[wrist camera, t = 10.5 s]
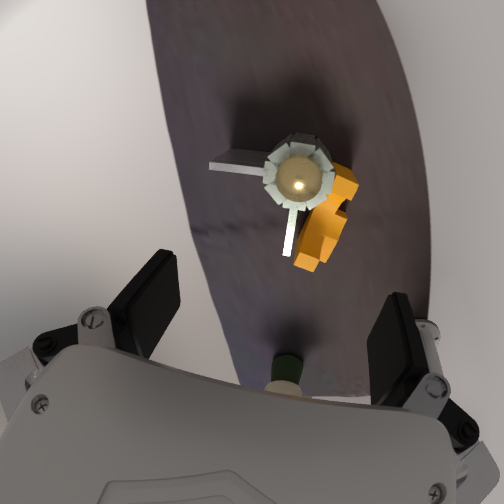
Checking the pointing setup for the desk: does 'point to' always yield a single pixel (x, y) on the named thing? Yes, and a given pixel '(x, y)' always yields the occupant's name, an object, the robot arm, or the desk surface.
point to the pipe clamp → (325, 222)
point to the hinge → (269, 165)
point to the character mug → (286, 376)
